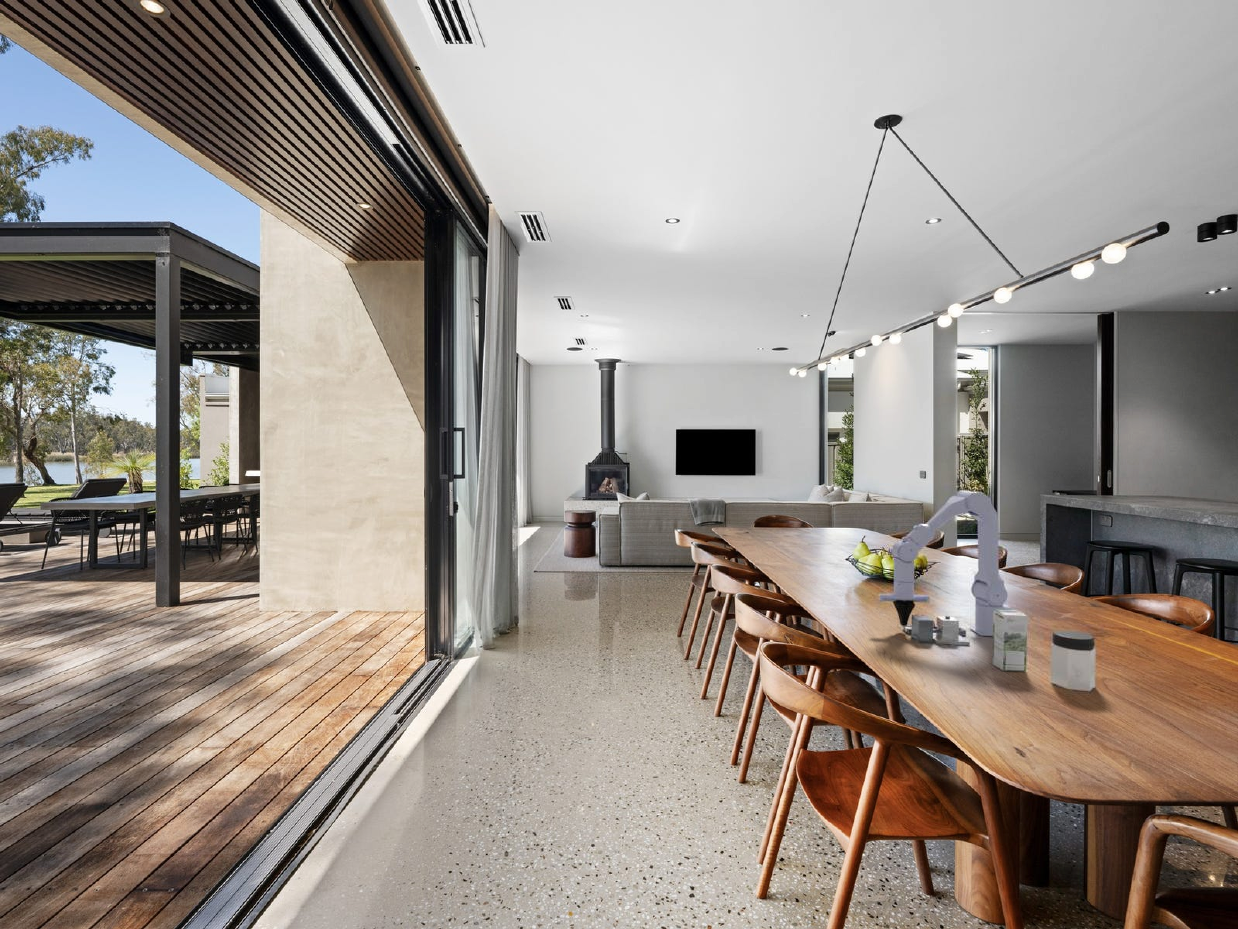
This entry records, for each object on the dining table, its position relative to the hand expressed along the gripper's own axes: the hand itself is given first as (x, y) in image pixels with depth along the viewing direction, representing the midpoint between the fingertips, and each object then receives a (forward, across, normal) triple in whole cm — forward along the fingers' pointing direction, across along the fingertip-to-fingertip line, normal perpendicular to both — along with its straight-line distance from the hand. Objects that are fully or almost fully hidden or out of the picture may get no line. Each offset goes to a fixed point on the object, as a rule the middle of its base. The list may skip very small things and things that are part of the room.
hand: (903, 625), depth 198 cm
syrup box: (+2, -16, +32) cm, 36 cm away
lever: (+2, -5, 0) cm, 5 cm away
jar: (+2, -25, +43) cm, 50 cm away
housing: (+1, -10, +8) cm, 13 cm away
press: (+2, -9, +5) cm, 11 cm away
